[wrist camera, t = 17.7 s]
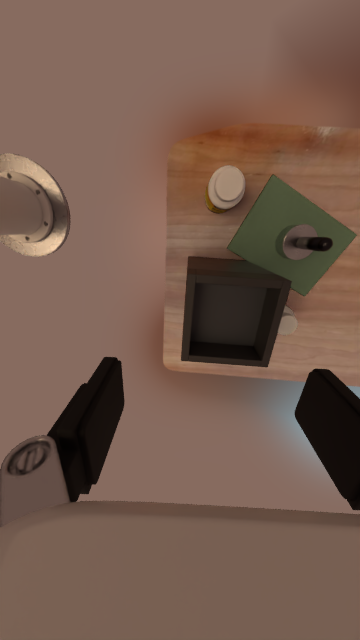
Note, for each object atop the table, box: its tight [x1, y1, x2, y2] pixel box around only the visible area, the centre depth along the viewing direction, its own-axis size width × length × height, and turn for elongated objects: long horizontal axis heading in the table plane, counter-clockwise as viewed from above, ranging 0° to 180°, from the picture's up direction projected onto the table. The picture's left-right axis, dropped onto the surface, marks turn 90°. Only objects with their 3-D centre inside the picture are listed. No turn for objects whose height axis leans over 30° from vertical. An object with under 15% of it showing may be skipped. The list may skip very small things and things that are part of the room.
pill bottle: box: [278, 305, 298, 335], centre depth 41 cm, size 5×5×10 cm
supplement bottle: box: [205, 165, 245, 213], centre depth 32 cm, size 6×6×10 cm
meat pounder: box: [275, 224, 333, 260], centre depth 34 cm, size 6×6×12 cm
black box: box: [181, 257, 292, 367], centre depth 35 cm, size 12×12×20 cm
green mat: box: [227, 175, 357, 296], centre depth 39 cm, size 20×14×1 cm
